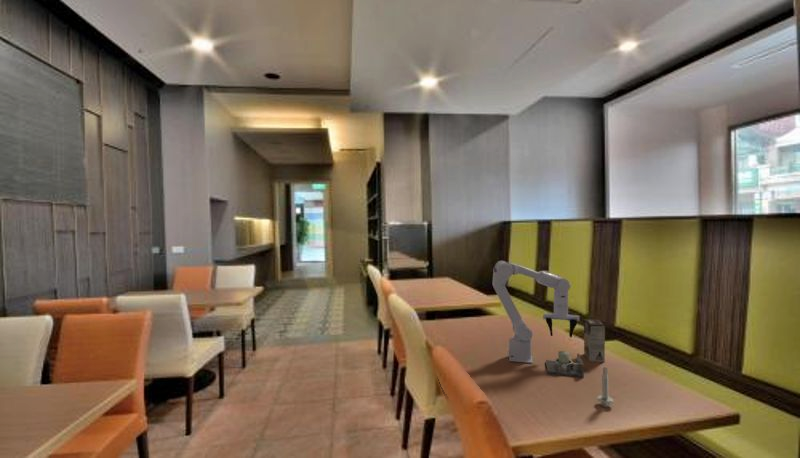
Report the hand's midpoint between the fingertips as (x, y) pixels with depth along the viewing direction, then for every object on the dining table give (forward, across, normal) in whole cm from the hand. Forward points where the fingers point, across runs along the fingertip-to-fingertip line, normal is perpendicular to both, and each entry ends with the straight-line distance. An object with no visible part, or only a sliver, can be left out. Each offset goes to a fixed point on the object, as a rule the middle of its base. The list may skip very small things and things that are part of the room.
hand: (560, 336), depth 163 cm
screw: (+11, +10, -38) cm, 41 cm away
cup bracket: (+10, 0, -11) cm, 15 cm away
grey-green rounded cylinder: (+9, 0, -11) cm, 15 cm away
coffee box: (+11, +14, +6) cm, 19 cm away
